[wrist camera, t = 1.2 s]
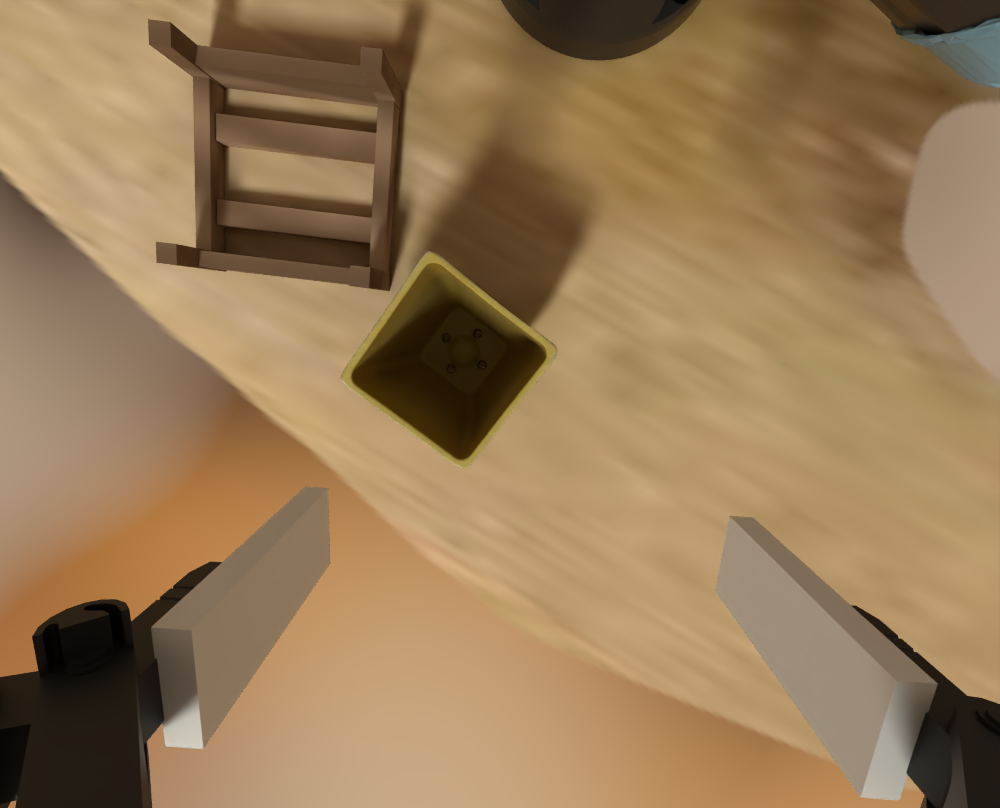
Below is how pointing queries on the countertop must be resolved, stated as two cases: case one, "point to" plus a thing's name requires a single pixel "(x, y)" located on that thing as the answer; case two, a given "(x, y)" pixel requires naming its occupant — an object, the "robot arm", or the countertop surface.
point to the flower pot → (448, 361)
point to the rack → (217, 129)
